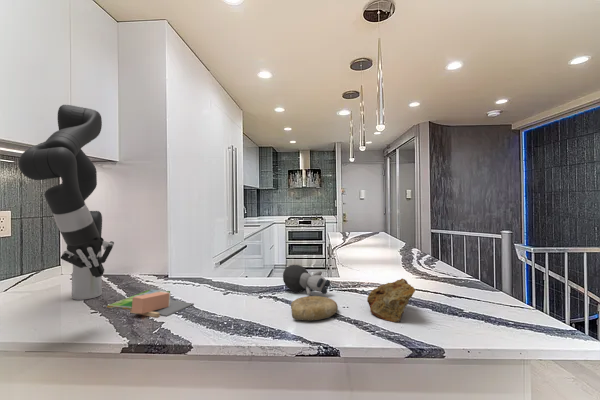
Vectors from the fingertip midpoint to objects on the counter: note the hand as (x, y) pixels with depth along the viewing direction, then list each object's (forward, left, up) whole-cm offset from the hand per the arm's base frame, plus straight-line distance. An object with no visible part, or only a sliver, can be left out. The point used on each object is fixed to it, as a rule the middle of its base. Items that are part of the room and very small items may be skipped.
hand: (99, 275), depth 87 cm
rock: (+75, +44, -16) cm, 88 cm away
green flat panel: (-13, +24, -16) cm, 31 cm away
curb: (+2, +13, -15) cm, 20 cm away
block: (+2, +10, -11) cm, 16 cm away
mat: (+2, +20, -15) cm, 25 cm away
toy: (+42, +54, -16) cm, 70 cm away
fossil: (+52, +34, -16) cm, 64 cm away
